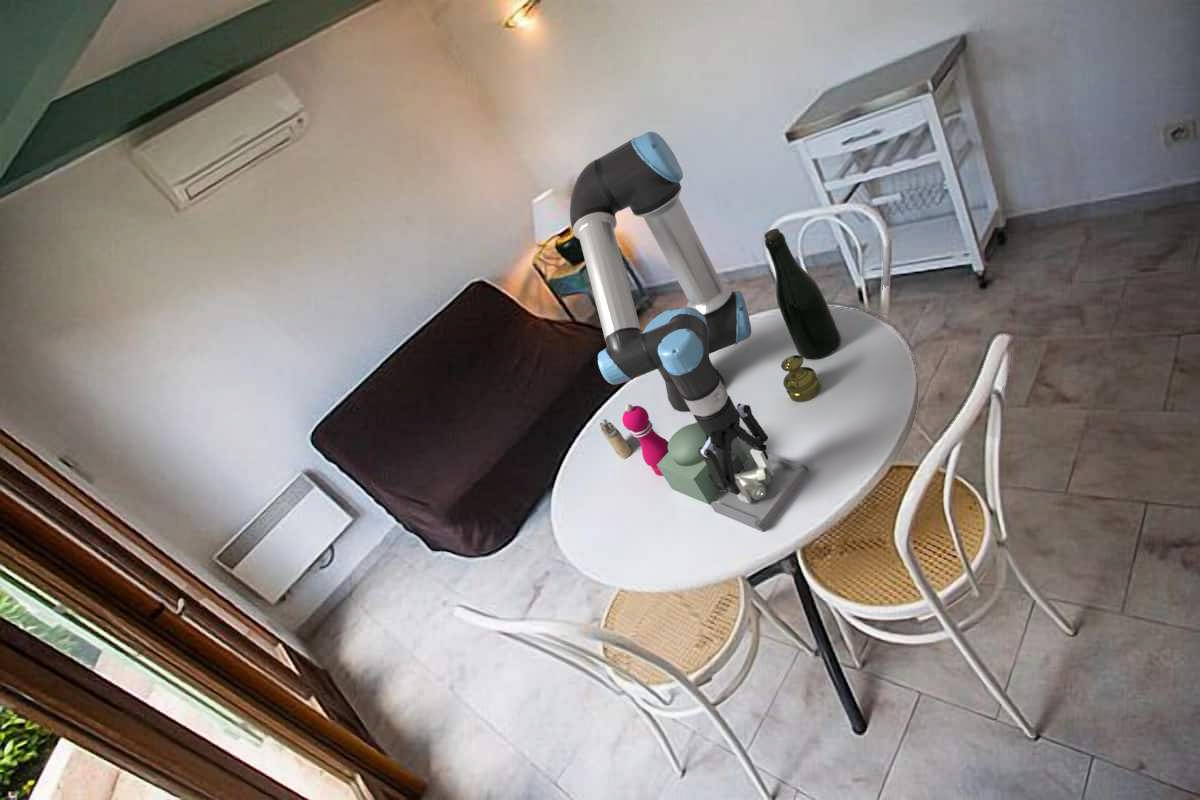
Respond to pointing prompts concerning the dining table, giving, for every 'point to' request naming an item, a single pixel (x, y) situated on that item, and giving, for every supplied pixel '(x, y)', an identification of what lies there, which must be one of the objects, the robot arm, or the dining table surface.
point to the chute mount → (775, 498)
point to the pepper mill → (645, 436)
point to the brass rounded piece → (800, 379)
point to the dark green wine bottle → (801, 302)
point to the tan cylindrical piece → (615, 439)
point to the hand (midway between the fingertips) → (756, 486)
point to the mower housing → (695, 464)
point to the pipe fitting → (755, 482)
